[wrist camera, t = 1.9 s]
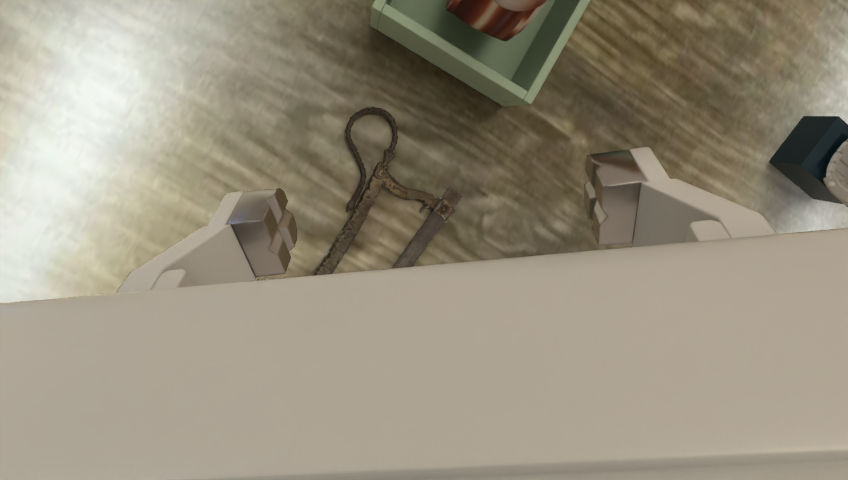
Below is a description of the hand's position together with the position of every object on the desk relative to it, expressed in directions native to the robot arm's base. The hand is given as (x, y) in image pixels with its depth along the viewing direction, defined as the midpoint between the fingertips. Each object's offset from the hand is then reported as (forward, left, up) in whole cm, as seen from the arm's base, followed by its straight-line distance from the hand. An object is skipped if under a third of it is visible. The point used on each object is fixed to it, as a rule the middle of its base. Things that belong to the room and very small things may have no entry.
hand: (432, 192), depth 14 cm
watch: (+31, +16, -25) cm, 43 cm away
